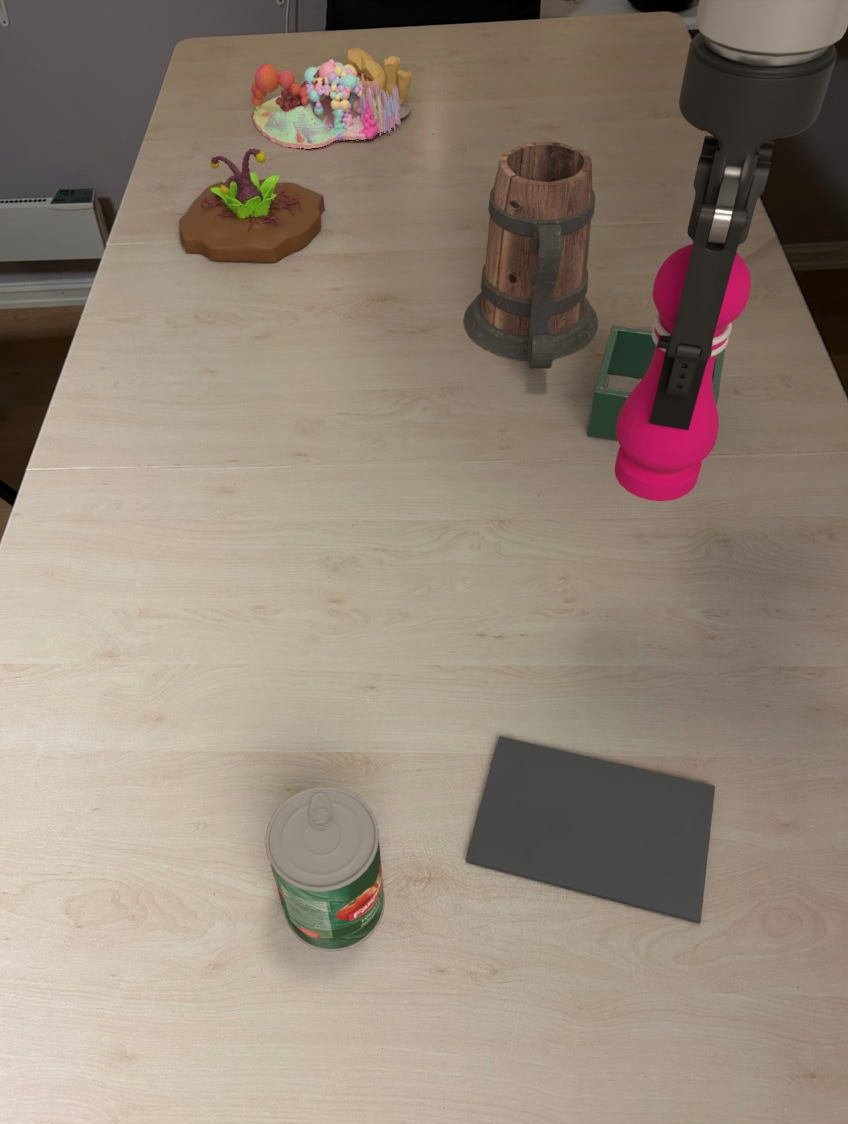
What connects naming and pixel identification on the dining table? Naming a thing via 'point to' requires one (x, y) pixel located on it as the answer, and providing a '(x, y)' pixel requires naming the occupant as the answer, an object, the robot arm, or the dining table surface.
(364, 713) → the dining table surface
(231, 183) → the plant
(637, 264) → the dining table surface
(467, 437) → the dining table surface
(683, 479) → the pepper mill
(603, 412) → the holder
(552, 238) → the tankard
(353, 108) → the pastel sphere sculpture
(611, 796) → the mat
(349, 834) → the canned tomato
